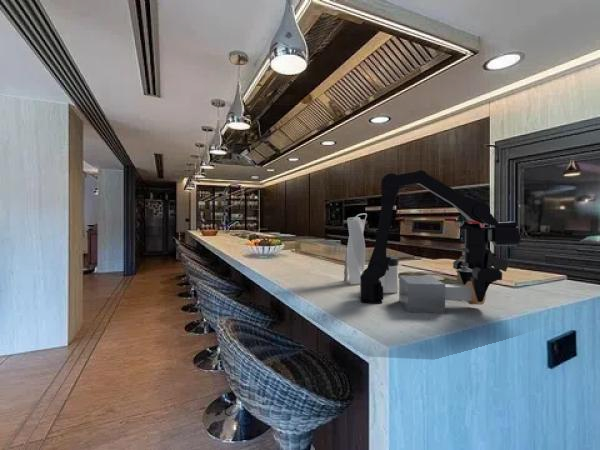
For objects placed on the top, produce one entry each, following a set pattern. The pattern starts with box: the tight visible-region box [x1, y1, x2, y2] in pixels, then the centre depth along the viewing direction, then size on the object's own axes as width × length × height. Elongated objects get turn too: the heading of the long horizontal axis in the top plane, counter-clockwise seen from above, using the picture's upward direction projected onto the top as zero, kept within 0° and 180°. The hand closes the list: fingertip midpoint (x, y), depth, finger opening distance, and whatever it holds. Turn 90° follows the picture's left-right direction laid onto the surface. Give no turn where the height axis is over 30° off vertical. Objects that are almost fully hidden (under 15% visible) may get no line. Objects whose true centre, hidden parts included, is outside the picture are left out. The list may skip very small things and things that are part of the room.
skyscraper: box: [343, 212, 368, 286], centre depth 127 cm, size 8×8×28 cm
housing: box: [398, 274, 446, 314], centre depth 95 cm, size 10×12×8 cm
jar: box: [379, 255, 400, 294], centre depth 114 cm, size 9×8×12 cm
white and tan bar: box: [444, 281, 487, 305], centre depth 94 cm, size 14×7×7 cm, turn 84°
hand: (474, 298), depth 93 cm, fingers closed on white and tan bar, 7 cm apart
